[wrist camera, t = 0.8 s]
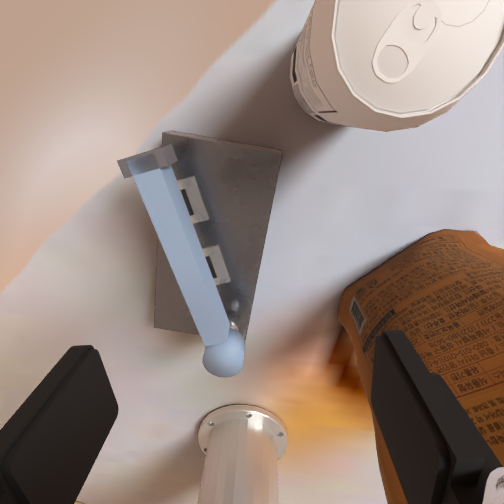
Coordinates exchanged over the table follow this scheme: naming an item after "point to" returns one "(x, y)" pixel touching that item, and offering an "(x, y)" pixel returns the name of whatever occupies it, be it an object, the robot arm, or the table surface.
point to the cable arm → (186, 257)
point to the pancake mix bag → (437, 327)
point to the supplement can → (393, 59)
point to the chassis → (220, 223)
